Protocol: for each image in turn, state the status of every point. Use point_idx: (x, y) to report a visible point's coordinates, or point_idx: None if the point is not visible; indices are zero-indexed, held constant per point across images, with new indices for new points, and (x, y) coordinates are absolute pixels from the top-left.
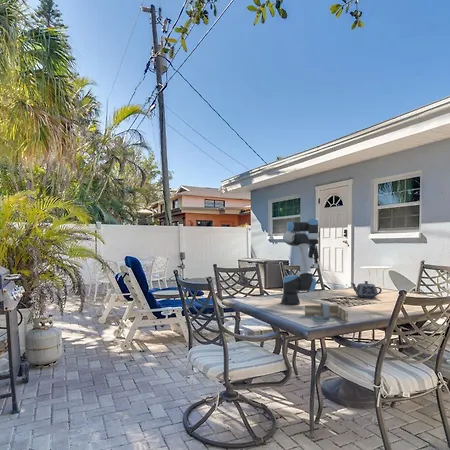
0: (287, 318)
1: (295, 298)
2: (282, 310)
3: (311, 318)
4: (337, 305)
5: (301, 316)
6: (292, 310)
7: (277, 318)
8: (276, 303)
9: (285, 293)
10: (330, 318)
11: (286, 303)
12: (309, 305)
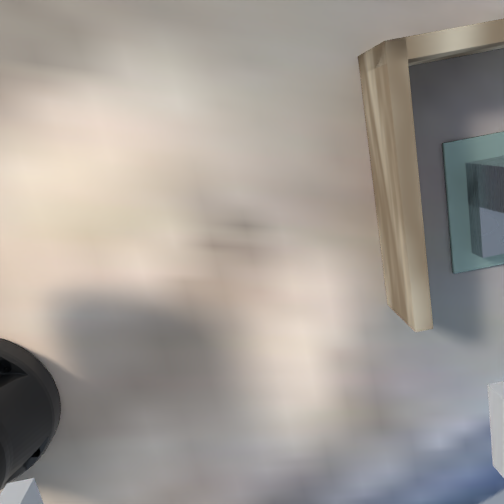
0: None
1: (10, 394)
2: (267, 444)
3: (487, 266)
4: (396, 53)
5: None
6: (252, 383)
7: None
8: None
9: None
10: (485, 138)
11: (52, 436)
12: (428, 297)
